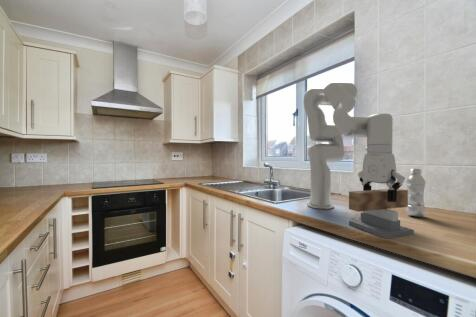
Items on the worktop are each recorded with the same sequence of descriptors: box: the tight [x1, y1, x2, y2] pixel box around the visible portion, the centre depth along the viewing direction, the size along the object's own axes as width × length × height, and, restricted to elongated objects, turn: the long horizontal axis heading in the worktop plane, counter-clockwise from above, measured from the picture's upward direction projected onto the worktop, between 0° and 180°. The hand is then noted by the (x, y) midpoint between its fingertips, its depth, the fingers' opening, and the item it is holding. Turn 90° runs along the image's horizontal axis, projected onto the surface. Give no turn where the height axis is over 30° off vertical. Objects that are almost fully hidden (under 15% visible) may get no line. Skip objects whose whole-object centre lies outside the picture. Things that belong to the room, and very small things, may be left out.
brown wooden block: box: [348, 188, 408, 213], centre depth 79 cm, size 22×4×6 cm, turn 107°
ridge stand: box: [348, 209, 415, 239], centre depth 79 cm, size 15×12×8 cm
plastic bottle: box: [405, 168, 426, 218], centre depth 95 cm, size 6×7×20 cm
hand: (378, 198), depth 79 cm, fingers open, 9 cm apart
